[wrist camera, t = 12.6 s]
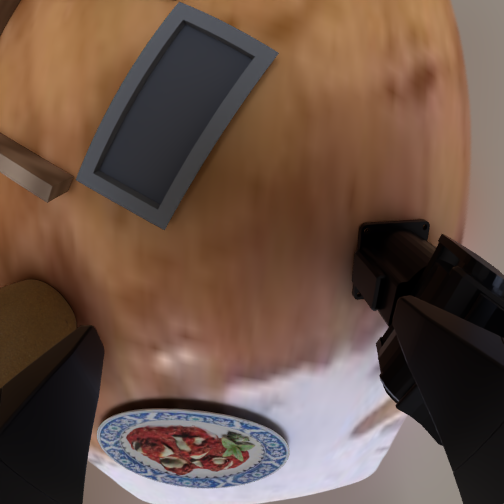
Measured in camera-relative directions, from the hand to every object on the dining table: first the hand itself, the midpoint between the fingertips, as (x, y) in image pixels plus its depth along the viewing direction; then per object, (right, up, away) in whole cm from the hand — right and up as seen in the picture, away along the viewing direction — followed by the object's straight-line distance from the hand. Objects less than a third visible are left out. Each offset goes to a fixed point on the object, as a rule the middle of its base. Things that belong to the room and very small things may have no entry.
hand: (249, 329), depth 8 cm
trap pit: (-5, +11, +9) cm, 15 cm away
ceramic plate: (-8, -24, +25) cm, 36 cm away
